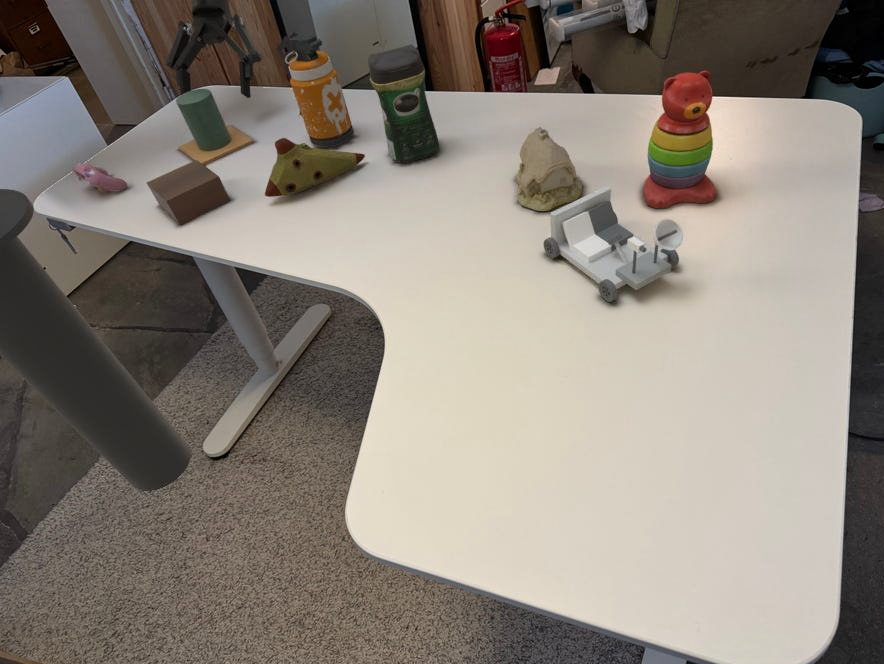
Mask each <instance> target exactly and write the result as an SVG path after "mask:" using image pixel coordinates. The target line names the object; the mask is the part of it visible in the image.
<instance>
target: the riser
mask: <svg viewBox="0 0 884 664" xmlns="http://www.w3.org/2000/svg"><path fill="white" fill-rule="evenodd" d="M146 186H147V187H148V189H149V190H150V192H151V193H152V195H153V197H154V198H155V201H156V202H157V204H158V205H159V207H160V208H161V209H162V210H163V211H164V212H165V213H166V214H167V215H169V216H170V217H171V218H172V219H173V220H174V221H175V222H176V223H177V224H178V225H179V226H181V225H184V224H185V223H188V222H189V221H191V220H194V219H196V218H197V217H200V216H202V215H204V214H205V213H208V212H210V211H212V210H214V209H216V208H218V207H220V206H222V205H224V204H226V203H228V202H230V201H231V198H230V196H229V194H228V191H227V190H226V188H225V186H224V184H223V182H222V180H221V178H220V176H219V175H218V174H217V173H215V171H213V170H211V169H210V168H208V166H206V165H203V164H202V163H200V162H199V161H198V160H195V161H194V160H193V161H191V162H188V163H186V164H184V165H182V166H179V167H178V168H175V169H173V170H171V171H169V172H166V173H164V174H162V175H160V176H158V177H156V178H153V179H151V180H149V181H146Z"/></svg>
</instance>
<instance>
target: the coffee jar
mask: <svg viewBox="0 0 884 664" xmlns="http://www.w3.org/2000/svg"><path fill="white" fill-rule="evenodd" d="M420 55H421V54H420V52H419V50H418V48H416V47H415V45H413V44H408V45H405V46H400V47H397V48H392V49H388V50H385V51H381V52H377V53H372V54H370V55H368V57H367V61H368V62H367V63H368V70H369V80H370V83H371V85H372V87H373V89H374V90H375V92H376V95H377V97H378V101H379V105H380V109H381V113H382V119H383V124H384V132H385V133H384V134H385V139H386V144H387V150H388V153H389V156H390V158H391V159H392V160H394V161H395V162H397V163H402V164H403V163H410V162H414V161H417V160H420V159H423V158H426V157H430V156H433V155H434V154H436V153H437V151H438V150H439V149H440V142H439V137H438V134H437V133H438V132H437V130H436V127H435V123H434V119H433V117H432V114H431V110H430V107H429V103H428V100H427V95H426V89H425V79H426V70H425V67H424V64H423V61H422V58H421V56H420Z"/></svg>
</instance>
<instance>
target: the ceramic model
mask: <svg viewBox="0 0 884 664" xmlns="http://www.w3.org/2000/svg"><path fill="white" fill-rule="evenodd" d="M519 157H520V160H521V162H520V163H519V169H518V171H517V176H516V183H517V184H518V190H517V200H518V202H519V204H520V205H521V206H523V207H524V208H525V207H526V208H528V209H531V210H533V211H538V212H539V211H540V212H548V211H551V210H552V209H555V208H556V207H559V206H562V205H565V204H569V203H572V202H574V201H576V200H578V199H579V197H581V194H582V189H583V181H582V180H581V178H580V177H579V176H578V175H577V171H576V167H575V165H574V164H573V162H572V159H571V158H570V155H569V153H568V151H567V149H565V147H564V146H561V145H560V144H558V143H557V142H555V141H554V140H553V138H552V137H550V135H549V131H548V130H547V129H546V128H545V129H544V128H542V127H541V126H540V127H536V128H535V129H534V130H533V131H532V132H530V133H528V134H527V137H526V138H525V140H524V141H523V143H522V145H521V147H520V150H519Z"/></svg>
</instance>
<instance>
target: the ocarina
mask: <svg viewBox="0 0 884 664" xmlns="http://www.w3.org/2000/svg"><path fill="white" fill-rule="evenodd" d="M274 147H275V150H276V155H277V157H276V161H275V163H274V164H273V167H272V169H271V172H270V174H269V178H268V182H267V184H266V187H265V191H264V196H265V197H269V198H274V197H275V198H276V197H282V196H288V195H293V194H296V193H300V192H302V191H305V190H308V189H311V188H313V187H317V186H318V185H320V184H322V183H325V182H327V181H329V180H331V179H334V178H336V177H338V176H340V175H342V174H344V173H345V172H347V171H349V170H351V169H353V168H354V167H356V166H357V165H358V164H360V163H361V162H362V161H363V160H364V159H365V157H366V154H364V153H359V152H350V151H343V150H341V151H340V150H333V149H324V148H317V147H311V146H310V145H309V144H307V143H306V142H302V143H295V142H293V141H291V140H290V139H288V138H286V137H282V138H279V139H278V140H276V141H275V142H274Z"/></svg>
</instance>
